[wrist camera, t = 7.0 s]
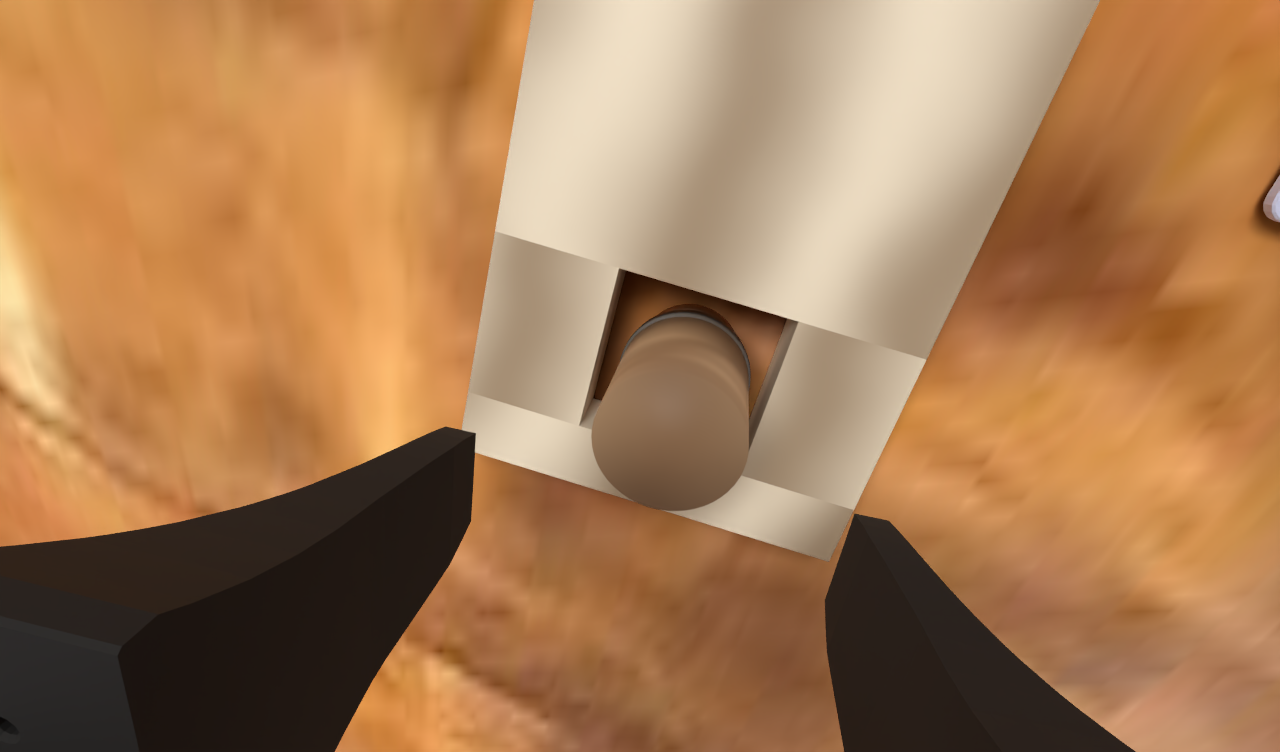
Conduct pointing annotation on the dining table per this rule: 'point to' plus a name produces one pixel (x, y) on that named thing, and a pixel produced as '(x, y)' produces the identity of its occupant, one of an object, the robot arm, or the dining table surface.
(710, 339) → the peg
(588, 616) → the dining table surface
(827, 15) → the board
